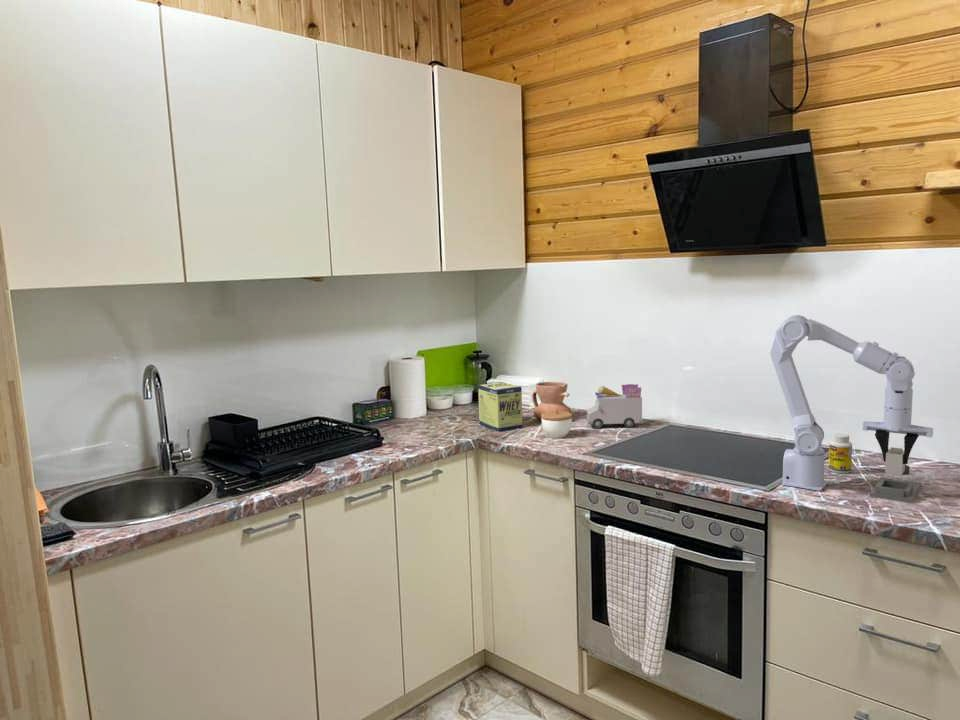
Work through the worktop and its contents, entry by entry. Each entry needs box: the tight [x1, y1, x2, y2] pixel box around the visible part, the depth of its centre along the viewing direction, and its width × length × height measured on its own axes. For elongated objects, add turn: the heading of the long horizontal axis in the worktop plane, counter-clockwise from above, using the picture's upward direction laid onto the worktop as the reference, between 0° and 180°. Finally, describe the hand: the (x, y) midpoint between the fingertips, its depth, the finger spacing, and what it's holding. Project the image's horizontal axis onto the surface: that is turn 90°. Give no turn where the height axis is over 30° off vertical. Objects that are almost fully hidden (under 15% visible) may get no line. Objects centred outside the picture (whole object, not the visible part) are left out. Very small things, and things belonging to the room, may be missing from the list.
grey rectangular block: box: [884, 447, 906, 476], centre depth 169 cm, size 4×4×6 cm
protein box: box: [477, 381, 523, 433], centre depth 258 cm, size 10×16×16 cm
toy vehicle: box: [585, 383, 644, 430], centre depth 252 cm, size 9×20×15 cm, turn 88°
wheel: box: [901, 464, 911, 476], centre depth 175 cm, size 4×4×2 cm
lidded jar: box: [540, 409, 573, 439], centre depth 241 cm, size 11×11×9 cm
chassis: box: [869, 476, 923, 504], centre depth 173 cm, size 9×15×2 cm, turn 141°
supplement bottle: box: [828, 433, 853, 474], centre depth 190 cm, size 6×6×10 cm
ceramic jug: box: [531, 381, 572, 421], centre depth 267 cm, size 18×14×14 cm
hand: (895, 462), depth 170 cm, fingers closed on grey rectangular block, 3 cm apart
